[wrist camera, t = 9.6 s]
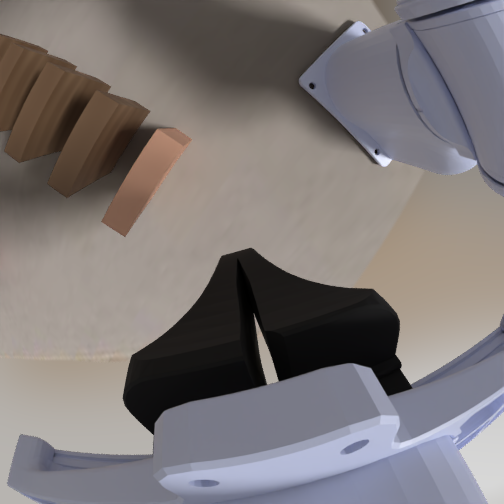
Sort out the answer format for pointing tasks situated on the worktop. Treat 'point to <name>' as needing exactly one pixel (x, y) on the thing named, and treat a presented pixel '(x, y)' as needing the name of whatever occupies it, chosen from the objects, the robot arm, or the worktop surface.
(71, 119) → the domino
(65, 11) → the worktop surface
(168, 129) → the domino
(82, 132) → the domino
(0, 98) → the domino
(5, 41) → the domino
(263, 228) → the worktop surface
